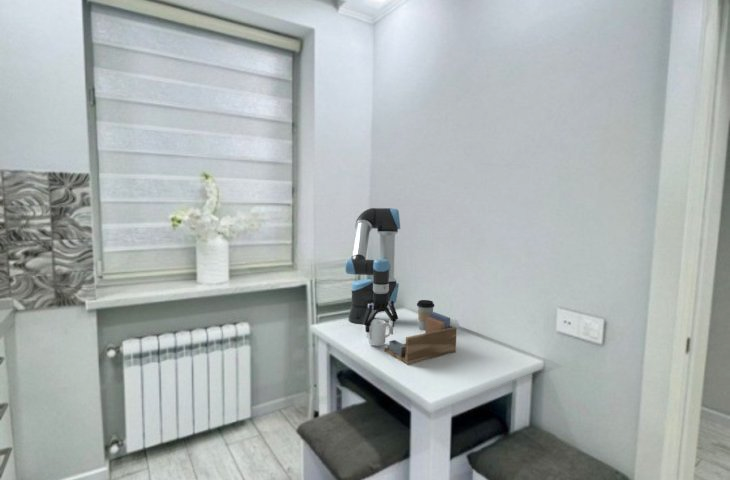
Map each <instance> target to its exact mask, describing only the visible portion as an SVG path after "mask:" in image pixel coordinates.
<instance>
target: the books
mask: <svg viewBox="0 0 730 480" xmlns="http://www.w3.org/2000/svg"><path fill="white" fill-rule="evenodd" d="M450 325H451V317H450V316H449V317H448V316H446V315H444V314H440V313H438V312H435V311H433V312H432V313H430V317H428V318H426V327H425V330H424V331H425V332H424V333H428V332H433V331H438V330H442V329H447V328H450Z"/></svg>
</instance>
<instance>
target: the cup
mask: <svg viewBox="0 0 730 480" xmlns="http://www.w3.org/2000/svg"><path fill="white" fill-rule="evenodd" d="M370 325H371V339H368V338H367V343H368V345H370V346H376V347H379V346H381V347H382V346H383V345H385V343H386V338H388V337H389V336H391V334H390V332H391V326H390V324H389V322H386V320H384V319H379V318H378V319H374V320H373V321H372V322H371V324H370ZM386 327H388V332H387V334H386V330H387V328H386Z"/></svg>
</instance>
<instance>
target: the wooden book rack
mask: <svg viewBox="0 0 730 480" xmlns="http://www.w3.org/2000/svg"><path fill="white" fill-rule="evenodd" d="M402 344H403V345H405V346H406V354H405V356H402V357H401V356H399V355H398V354H396V353H394V352H392V351H390V350H389V346H388V347H384V349H383V350H384V353H386V354H388V355H390V356H392V357H393V358H395V359H396V360H398V361H400V362H402V363H403V364H405V365H407V366H408V365H411V364H415V363H416V364H417V363H420V362H424V361H427V360H431V359H436V358H439V357H443V356H447V355H450V354H454V353H456V352H457V351H456V349H457V327H455V326H453V325H451V324H450V328H447V329H442V330H438V331H433V332H428V333H425V332H424V333H420V334H415V335H409V336H406V337H405V343H402Z"/></svg>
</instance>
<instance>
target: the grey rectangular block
mask: <svg viewBox="0 0 730 480" xmlns="http://www.w3.org/2000/svg"><path fill="white" fill-rule="evenodd" d="M403 344H404V343H401V342H399V341H397V340H395V339H394V340H389V342H388V347H389V350H390V351H392V352H394V353H396V354H398V355H399V356H401V357H402V356H405V354H406V346H405V345H403Z"/></svg>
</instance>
